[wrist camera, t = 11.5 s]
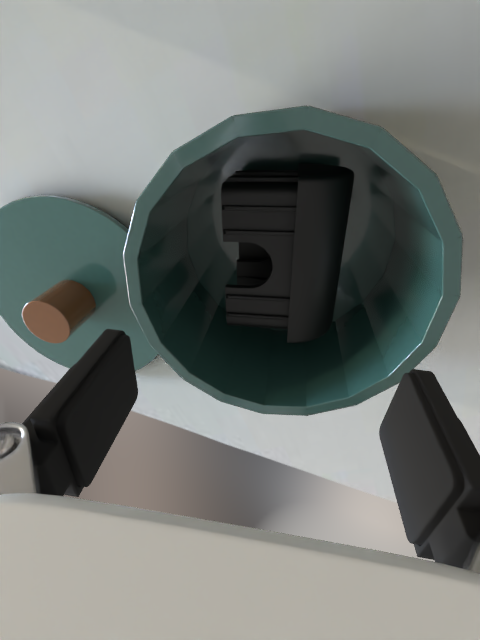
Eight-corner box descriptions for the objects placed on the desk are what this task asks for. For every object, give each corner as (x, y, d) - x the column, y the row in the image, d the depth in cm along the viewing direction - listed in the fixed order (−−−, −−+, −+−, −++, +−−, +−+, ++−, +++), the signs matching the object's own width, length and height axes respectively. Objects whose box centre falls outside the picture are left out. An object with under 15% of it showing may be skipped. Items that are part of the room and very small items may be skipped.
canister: (182, 321, 30) (140, 394, 22) (175, 101, 21) (100, 90, 13) (367, 347, 29) (394, 435, 21) (444, 121, 20) (543, 122, 12)
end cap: (327, 298, 26) (335, 348, 21) (240, 294, 27) (225, 340, 22) (346, 161, 21) (364, 177, 15) (238, 162, 22) (217, 176, 16)
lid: (21, 355, 36) (-17, 387, 32) (-42, 182, 27) (-109, 195, 22) (178, 379, 34) (160, 418, 30) (169, 205, 25) (142, 223, 21)
